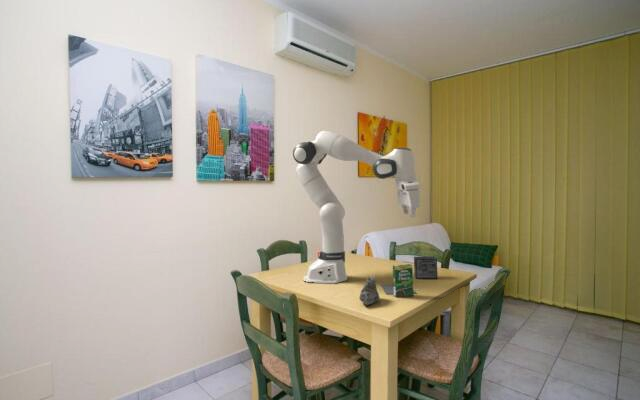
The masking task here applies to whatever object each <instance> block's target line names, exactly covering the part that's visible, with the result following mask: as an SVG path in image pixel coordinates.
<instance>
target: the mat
mask: <svg viewBox="0 0 640 400" xmlns="http://www.w3.org/2000/svg"><path fill="white" fill-rule="evenodd" d="M380 287H381V288H382V290H383V291H384V293H385V294H386V295H394V293H393V284H380ZM417 294H418V293H417V291H415V289H413V295H417Z"/></svg>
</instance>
